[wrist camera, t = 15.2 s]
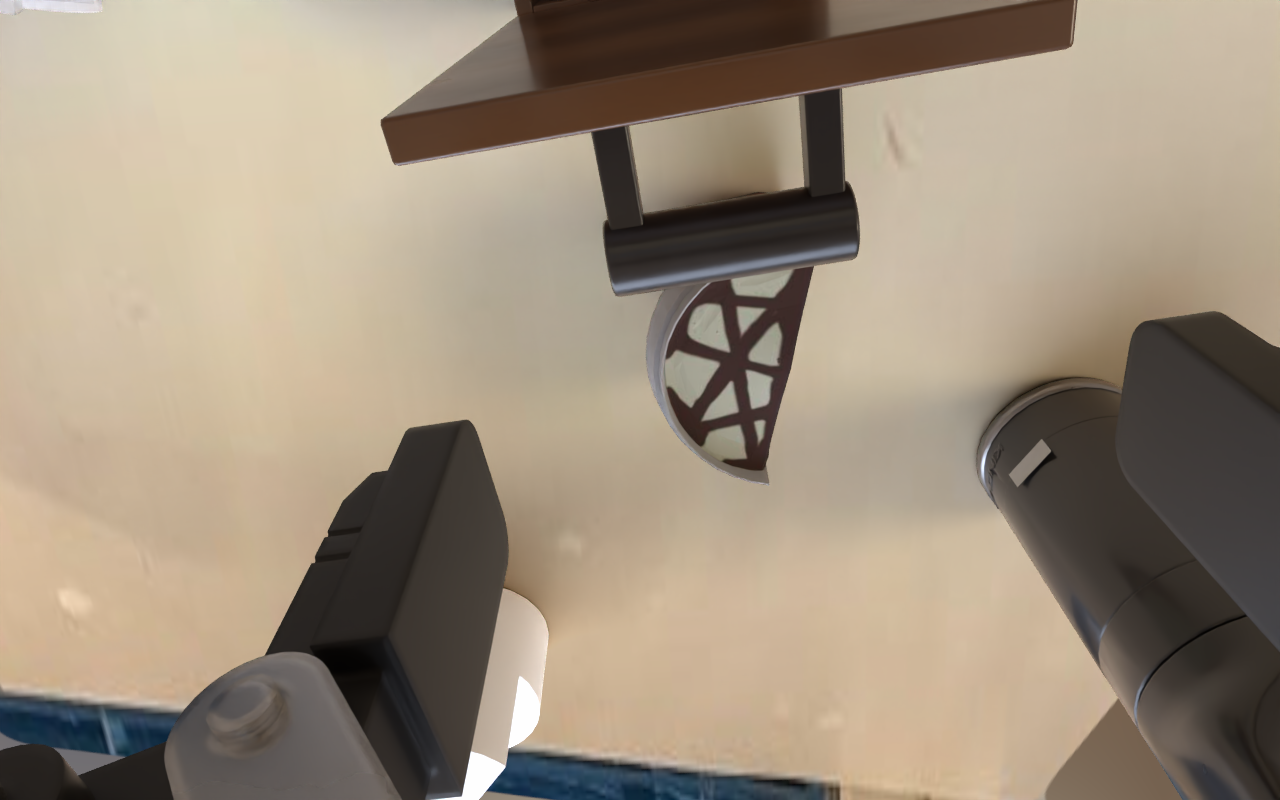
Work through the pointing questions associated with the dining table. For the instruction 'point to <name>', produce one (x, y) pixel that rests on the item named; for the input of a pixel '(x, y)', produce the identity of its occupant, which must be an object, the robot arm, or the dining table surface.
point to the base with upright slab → (507, 691)
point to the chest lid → (708, 108)
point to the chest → (544, 5)
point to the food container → (727, 364)
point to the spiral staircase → (51, 6)
